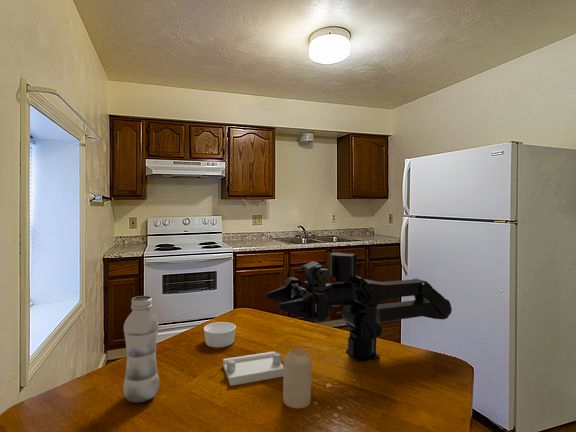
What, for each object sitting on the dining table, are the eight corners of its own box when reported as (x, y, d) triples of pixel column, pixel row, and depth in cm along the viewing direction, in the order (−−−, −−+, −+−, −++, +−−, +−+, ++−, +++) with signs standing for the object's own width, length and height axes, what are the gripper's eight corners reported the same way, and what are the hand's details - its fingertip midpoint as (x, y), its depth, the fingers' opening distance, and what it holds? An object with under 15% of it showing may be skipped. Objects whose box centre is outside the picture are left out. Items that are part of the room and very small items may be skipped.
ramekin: (196, 343, 91) (197, 328, 91) (219, 333, 99) (219, 319, 99) (220, 351, 86) (220, 335, 86) (242, 340, 94) (242, 325, 94)
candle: (291, 412, 62) (292, 359, 61) (278, 396, 66) (279, 348, 66) (315, 404, 64) (317, 354, 64) (301, 390, 69) (302, 343, 69)
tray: (274, 358, 83) (274, 346, 83) (287, 375, 75) (287, 362, 75) (223, 366, 79) (223, 354, 78) (230, 385, 70) (230, 372, 70)
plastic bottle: (136, 412, 61) (137, 305, 60) (116, 400, 64) (116, 299, 64) (166, 395, 66) (166, 297, 66) (145, 385, 70) (146, 292, 69)
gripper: (315, 257, 90) (260, 260, 85) (351, 270, 73) (286, 274, 67) (314, 297, 91) (260, 302, 85) (351, 319, 73) (285, 328, 68)
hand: (271, 300), depth 76 cm, fingers open, 9 cm apart
